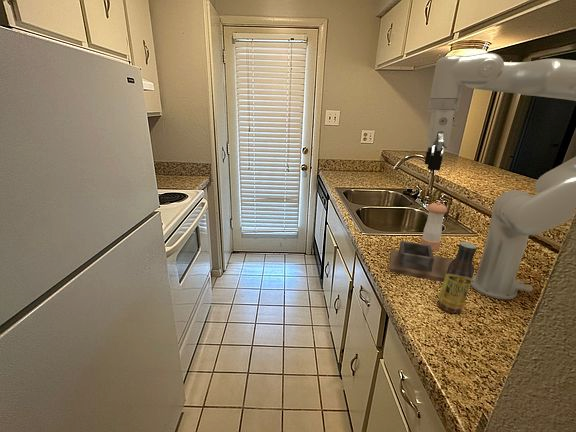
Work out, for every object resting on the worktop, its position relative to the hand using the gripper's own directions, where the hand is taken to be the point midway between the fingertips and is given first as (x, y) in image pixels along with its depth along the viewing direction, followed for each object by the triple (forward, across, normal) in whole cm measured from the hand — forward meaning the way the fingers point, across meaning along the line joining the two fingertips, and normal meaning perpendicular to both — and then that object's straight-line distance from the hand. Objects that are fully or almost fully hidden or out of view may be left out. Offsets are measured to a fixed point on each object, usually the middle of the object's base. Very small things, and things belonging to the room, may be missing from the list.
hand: (431, 167), depth 87 cm
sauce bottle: (+37, -16, -10) cm, 41 cm away
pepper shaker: (+37, +26, -8) cm, 46 cm away
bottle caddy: (+37, +6, -4) cm, 37 cm away
